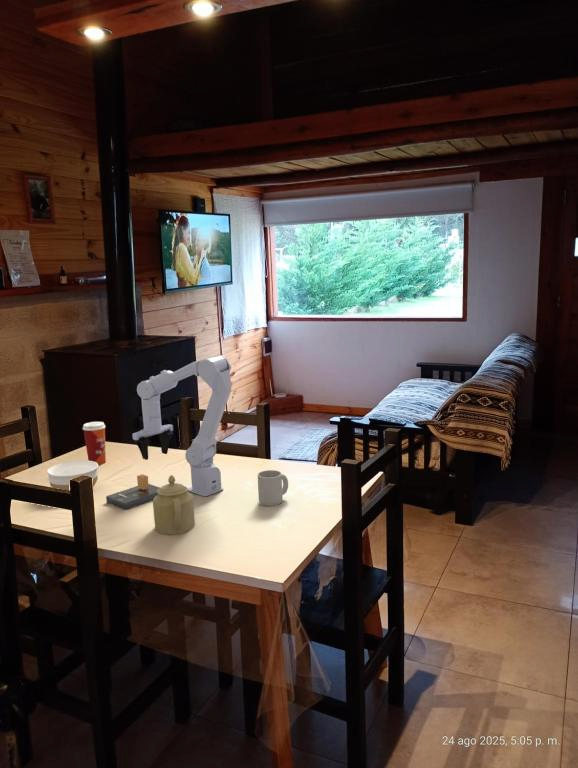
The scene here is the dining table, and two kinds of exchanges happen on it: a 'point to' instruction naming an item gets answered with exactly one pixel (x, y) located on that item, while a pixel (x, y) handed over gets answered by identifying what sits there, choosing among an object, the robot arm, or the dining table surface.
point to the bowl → (71, 472)
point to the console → (132, 497)
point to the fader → (142, 482)
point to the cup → (271, 487)
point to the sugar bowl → (173, 509)
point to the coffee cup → (95, 441)
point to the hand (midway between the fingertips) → (155, 456)
